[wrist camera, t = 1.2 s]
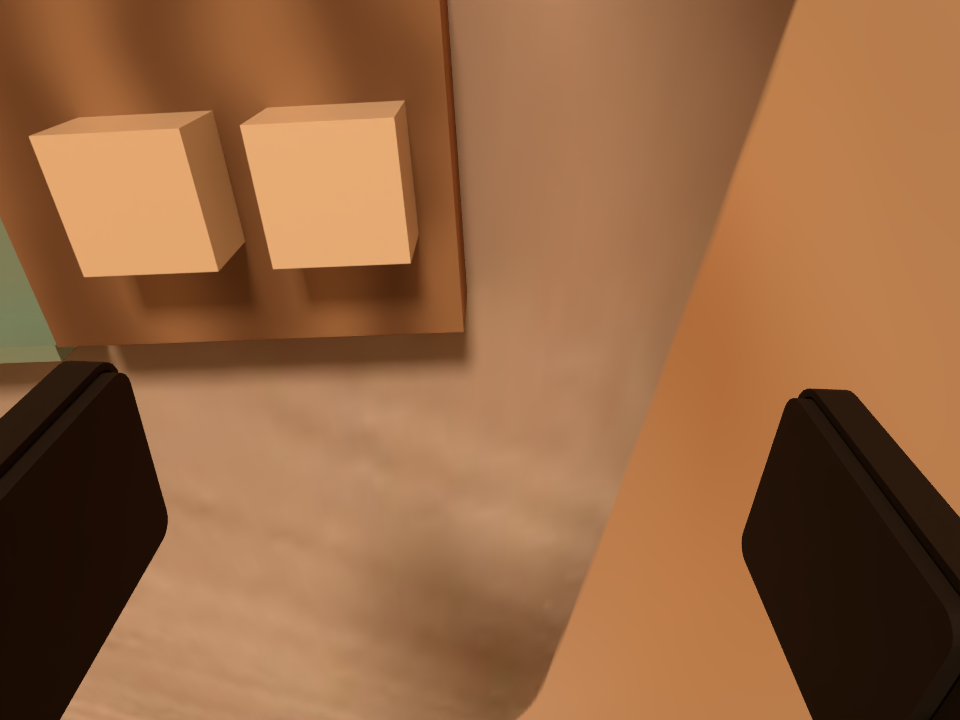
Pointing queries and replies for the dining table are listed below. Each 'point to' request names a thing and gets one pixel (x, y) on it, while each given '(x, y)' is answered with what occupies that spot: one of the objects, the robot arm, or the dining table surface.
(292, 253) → the tile
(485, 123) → the dining table surface
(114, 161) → the tile
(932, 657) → the robot arm
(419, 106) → the board
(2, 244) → the tray
